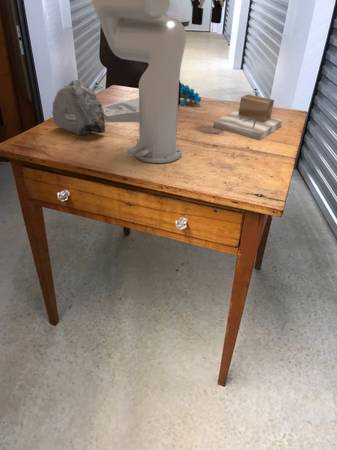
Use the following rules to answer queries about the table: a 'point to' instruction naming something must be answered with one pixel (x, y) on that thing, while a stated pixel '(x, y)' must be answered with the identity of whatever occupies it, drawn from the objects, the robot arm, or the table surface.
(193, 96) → the gear
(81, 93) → the decorative rock
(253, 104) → the block
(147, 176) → the table surface
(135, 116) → the ramp
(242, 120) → the board
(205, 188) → the table surface
